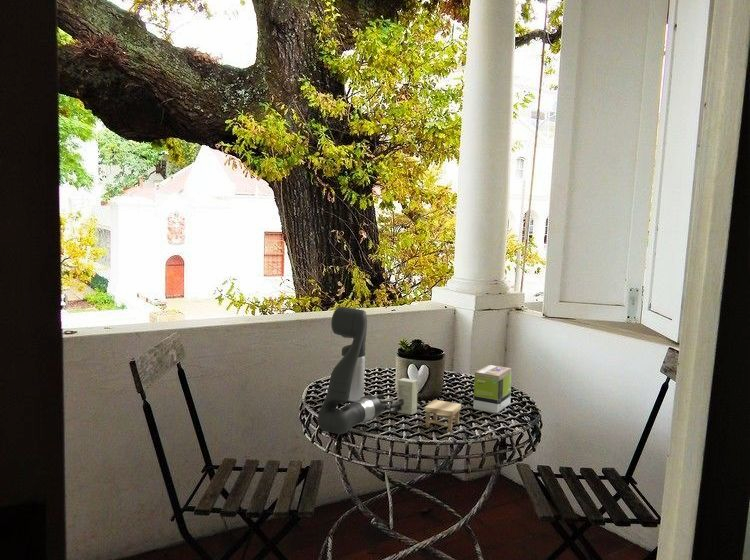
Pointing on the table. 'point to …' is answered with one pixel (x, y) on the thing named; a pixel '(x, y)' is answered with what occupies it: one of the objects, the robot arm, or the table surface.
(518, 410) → the table surface
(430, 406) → the wooden stool
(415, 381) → the skincare box
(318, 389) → the table surface
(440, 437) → the table surface
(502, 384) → the tea box
